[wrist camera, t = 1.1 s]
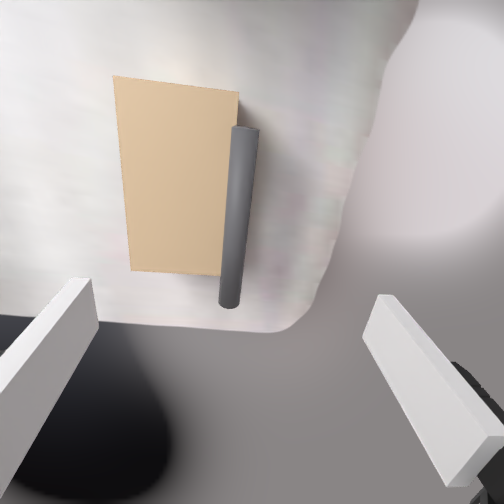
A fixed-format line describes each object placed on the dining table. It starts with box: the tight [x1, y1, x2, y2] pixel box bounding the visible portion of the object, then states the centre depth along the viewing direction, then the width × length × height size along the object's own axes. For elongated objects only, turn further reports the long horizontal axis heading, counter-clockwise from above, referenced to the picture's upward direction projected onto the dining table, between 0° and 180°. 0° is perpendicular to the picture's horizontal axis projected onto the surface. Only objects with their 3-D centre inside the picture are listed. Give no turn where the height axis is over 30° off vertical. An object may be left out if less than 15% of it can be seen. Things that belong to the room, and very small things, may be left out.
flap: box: [113, 76, 259, 309], centre depth 25 cm, size 18×12×9 cm, turn 173°
